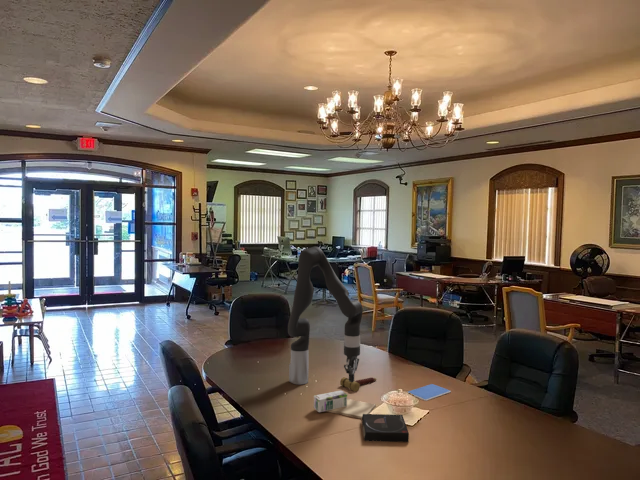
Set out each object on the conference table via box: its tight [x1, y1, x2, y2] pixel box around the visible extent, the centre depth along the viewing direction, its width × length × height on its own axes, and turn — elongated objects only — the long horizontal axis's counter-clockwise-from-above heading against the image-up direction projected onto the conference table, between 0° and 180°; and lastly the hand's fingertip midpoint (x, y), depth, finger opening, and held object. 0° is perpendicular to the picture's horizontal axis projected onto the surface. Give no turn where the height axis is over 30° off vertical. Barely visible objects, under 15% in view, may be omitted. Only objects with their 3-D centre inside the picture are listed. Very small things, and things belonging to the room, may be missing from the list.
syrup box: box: [313, 390, 348, 413], centre depth 205 cm, size 6×6×14 cm
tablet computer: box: [407, 383, 452, 402], centre depth 226 cm, size 19×13×1 cm, turn 126°
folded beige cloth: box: [326, 398, 377, 420], centre depth 206 cm, size 20×15×1 cm
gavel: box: [339, 377, 377, 392], centre depth 236 cm, size 21×5×10 cm
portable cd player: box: [361, 413, 410, 443], centre depth 184 cm, size 16×17×4 cm
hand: (351, 381), depth 212 cm, fingers closed
